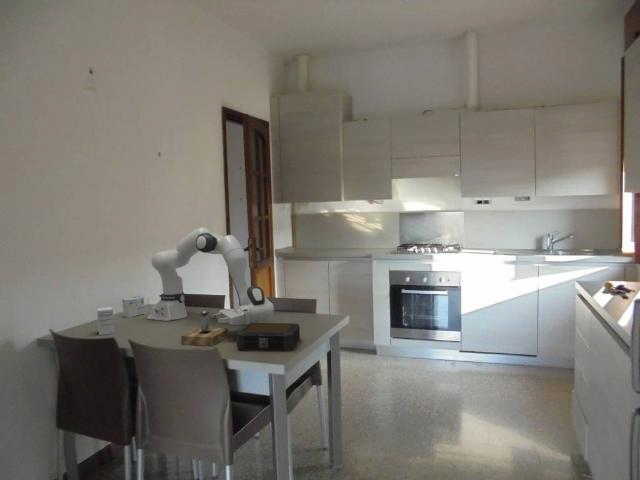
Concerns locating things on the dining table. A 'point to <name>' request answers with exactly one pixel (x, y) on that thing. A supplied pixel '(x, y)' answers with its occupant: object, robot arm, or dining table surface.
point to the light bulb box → (133, 306)
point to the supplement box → (105, 320)
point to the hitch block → (204, 337)
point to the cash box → (268, 336)
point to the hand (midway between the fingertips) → (215, 318)
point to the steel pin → (204, 321)
